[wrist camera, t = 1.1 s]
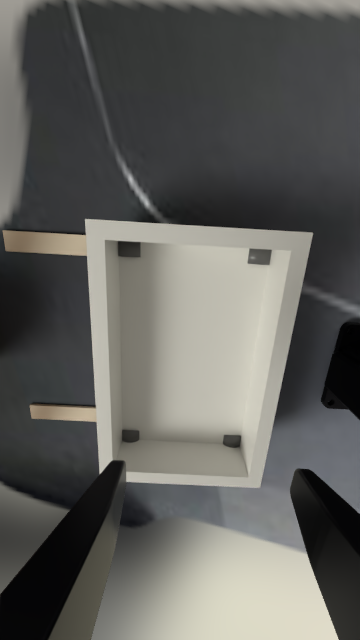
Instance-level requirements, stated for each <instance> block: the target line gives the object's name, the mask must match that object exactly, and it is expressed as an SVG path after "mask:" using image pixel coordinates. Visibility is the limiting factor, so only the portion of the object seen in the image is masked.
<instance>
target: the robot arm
mask: <svg viewBox="0 0 360 640" xmlns="http://www.w3.org/2000/svg"><path fill="white" fill-rule="evenodd" d="M350 328H351V331H350V332H349V333H348V330H349V329H350ZM329 400H331V401H329ZM328 401H329V402H328ZM321 402H322V404H323V405H324V406H325V407H326V408H331V409H349V410H350V411H351V412H352V413H353V414H354V415H355V416H356V417H357V418H358V419H359V420H360V323H345V324H343V325H342V326H341V328H340V331H339V335H338V339H337V342H336V346H335V350H334V353H333V355H332V358H331V362H330V366H329V370H328V373H327V377H326V381H325V387H324V390H323V394H322V398H321ZM125 489H126V462H125V461H124V460H112V461H111V462H110V463H109V464H108V465H107V466H106V468H105V469H104V470H103V471H102V472H101V474H100V475H99V476H98V477H97V479H96V480H95V481H94V482H93V483H92V485H91V486H90V487H89V488H88V489H87V491H86V492H85V493H84V494H83V495H82V497H81V498H80V499H79V500H78V501H77V503H76V504H75V505H74V506H73V507H72V509H71V510H70V511H69V512H68V513H67V515H66V516H65V517H64V518H63V519H62V521H61V522H60V523H59V524H58V525H57V527H56V528H55V529H54V530H53V531H52V533H51V534H50V535H49V536H48V538H47V539H46V540H45V541H44V542H43V543H42V545H41V546H40V547H39V548H38V550H37V551H36V552H35V553H34V554H33V556H32V557H31V558H30V559H29V560H28V562H27V563H26V564H25V565H24V566H23V568H22V569H21V570H20V571H19V572H18V574H17V575H16V576H15V577H14V578H13V580H12V581H11V582H10V583H9V584H8V586H7V587H6V588H5V589H4V590H3V592H2V593H1V594H0V640H91V637H92V633H93V629H94V626H95V622H96V619H97V615H98V611H99V607H100V603H101V600H102V596H103V593H104V589H105V585H106V582H107V577H108V574H109V570H110V567H111V563H112V559H113V554H114V550H115V545H116V540H117V534H118V529H119V523H120V517H121V512H122V506H123V500H124V495H125ZM290 494H291V499H292V502H293V506H294V509H295V513H296V516H297V520H298V523H299V527H300V530H301V534H302V537H303V541H304V544H305V548H306V551H307V554H308V558H309V561H310V564H311V567H312V569H313V572H314V575H315V577H316V580H317V583H318V585H319V588H320V591H321V593H322V596H323V599H324V601H325V604H326V607H327V609H328V612H329V615H330V617H331V620H332V623H333V625H334V628H335V631H336V633H337V636H338V639H339V640H360V514H359V513H358V512H357V511H356V510H355V509H354V508H352V507H351V506H350V505H349V504H348V503H347V502H346V501H345V500H344V499H343V498H341V497H340V496H339V495H338V494H337V493H336V492H335V491H334V490H333V489H331V488H330V487H329V486H328V485H327V484H326V483H325V482H324V481H323V480H322V479H320V478H319V477H318V476H317V475H316V474H315V473H314V472H313V471H311V470H309V469H296V470H295V472H294V476H293V480H292V483H291V487H290Z"/></svg>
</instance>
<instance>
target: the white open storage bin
mask: <svg viewBox="0 0 360 640" xmlns="http://www.w3.org/2000/svg"><path fill="white" fill-rule="evenodd" d="M85 227H86V244H87V261H88V279H89V296H90V313H91V331H92V348H93V365H94V383H95V400H96V417H97V435H98V452H99V469H100V474H101V472H102V471H103V470H104V469H105V468H106V466H107V465H108V464H109V463H110V462H111V461H112V460H124V461H125V462H126V482H142V483H163V484H185V485H206V486H228V487H249V488H260V485H261V480H262V476H263V471H264V466H265V461H266V456H267V452H268V447H269V442H270V437H271V433H272V428H273V423H274V418H275V413H276V409H277V404H278V399H279V394H280V389H281V385H282V380H283V375H284V370H285V366H286V361H287V356H288V351H289V346H290V342H291V337H292V332H293V327H294V322H295V318H296V313H297V308H298V303H299V299H300V294H301V289H302V284H303V279H304V275H305V270H306V265H307V260H308V256H309V251H310V246H311V241H312V236H313V233H310V232H294V231H277V230H260V229H243V228H227V227H210V226H193V225H176V224H160V223H143V222H126V221H109V220H93V219H85Z"/></svg>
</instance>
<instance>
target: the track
mask: <svg viewBox="0 0 360 640" xmlns="http://www.w3.org/2000/svg"><path fill="white" fill-rule="evenodd" d="M3 236H4V243H5V249H6V251H13V252H30V253H47V254H65V255H82V256H87V244H86V235H73V234H56V233H39V232H22V231H5V230H3ZM30 410H31V417H32V418H33V419H54V420H74V421H94V422H97V417H96V407H90V406H70V405H50V404H30Z"/></svg>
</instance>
